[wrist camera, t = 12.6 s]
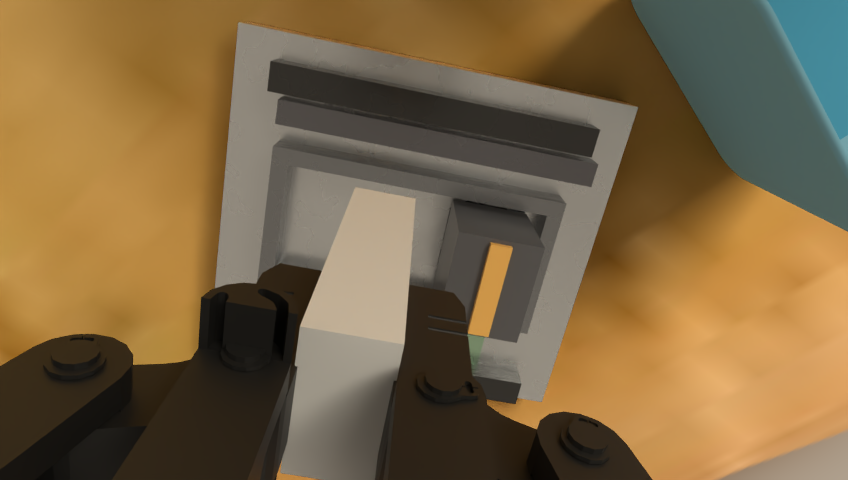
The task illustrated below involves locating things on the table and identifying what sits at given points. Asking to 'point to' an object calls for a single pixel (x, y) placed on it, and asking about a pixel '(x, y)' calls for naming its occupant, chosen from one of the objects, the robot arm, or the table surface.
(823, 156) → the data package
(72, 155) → the table surface
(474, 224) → the breaker toggle
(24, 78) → the table surface
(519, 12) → the table surface
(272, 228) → the breaker panel
